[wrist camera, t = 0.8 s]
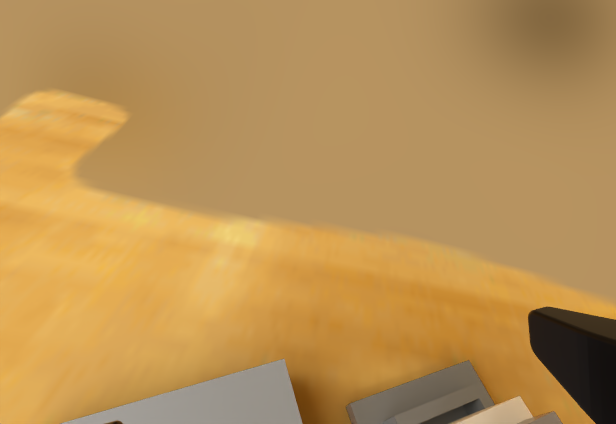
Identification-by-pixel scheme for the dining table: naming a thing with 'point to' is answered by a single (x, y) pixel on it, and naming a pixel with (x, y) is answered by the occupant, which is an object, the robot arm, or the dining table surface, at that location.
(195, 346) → the dining table surface
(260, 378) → the port
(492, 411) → the plug
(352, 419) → the holster
